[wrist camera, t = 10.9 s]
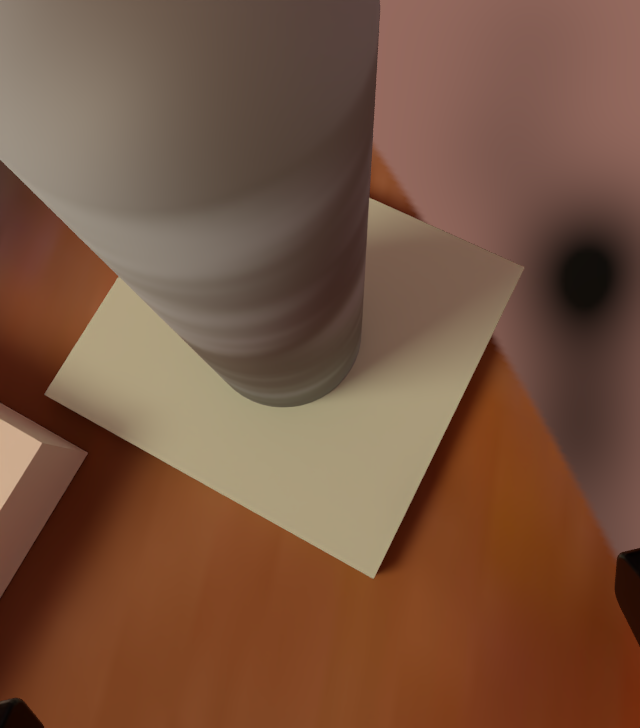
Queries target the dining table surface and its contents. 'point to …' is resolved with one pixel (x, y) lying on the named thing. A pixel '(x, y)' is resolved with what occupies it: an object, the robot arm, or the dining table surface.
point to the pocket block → (29, 484)
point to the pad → (321, 417)
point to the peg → (209, 166)
